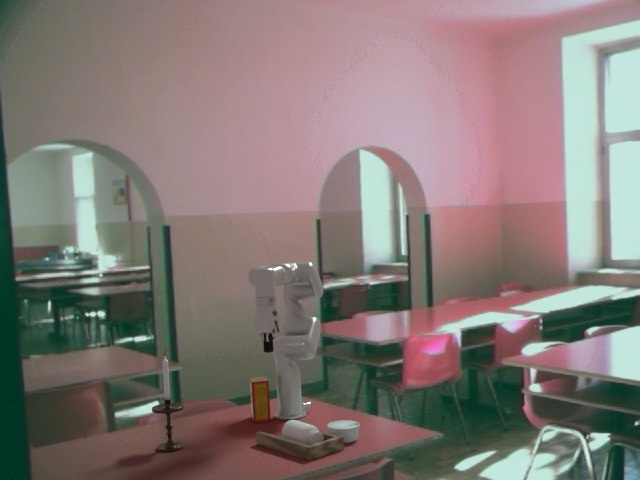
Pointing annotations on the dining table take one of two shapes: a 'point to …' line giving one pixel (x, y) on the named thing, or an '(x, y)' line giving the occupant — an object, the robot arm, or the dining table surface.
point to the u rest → (302, 445)
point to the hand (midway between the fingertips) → (268, 351)
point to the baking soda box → (260, 399)
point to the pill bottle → (301, 432)
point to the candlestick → (168, 412)
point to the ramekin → (345, 429)
